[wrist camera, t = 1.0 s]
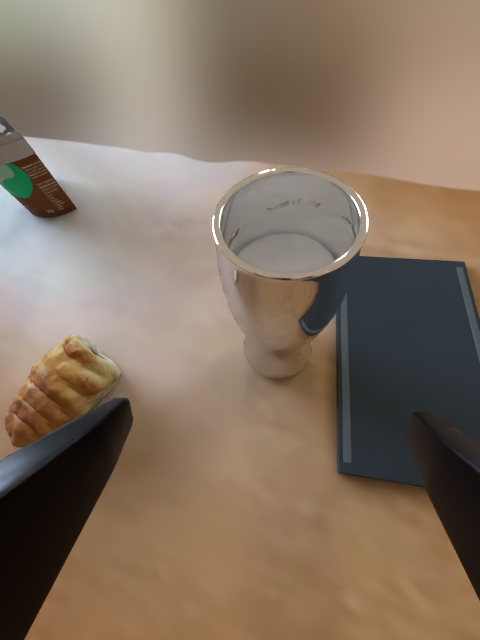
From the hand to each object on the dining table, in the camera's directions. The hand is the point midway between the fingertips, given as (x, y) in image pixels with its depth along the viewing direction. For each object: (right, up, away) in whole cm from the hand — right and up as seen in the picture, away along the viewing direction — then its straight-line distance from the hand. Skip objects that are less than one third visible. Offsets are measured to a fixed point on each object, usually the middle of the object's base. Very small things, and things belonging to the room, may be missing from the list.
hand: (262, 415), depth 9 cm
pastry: (-16, -3, +16) cm, 23 cm away
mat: (+14, 0, +15) cm, 20 cm away
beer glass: (+3, +1, +16) cm, 17 cm away
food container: (-28, +19, +29) cm, 44 cm away
